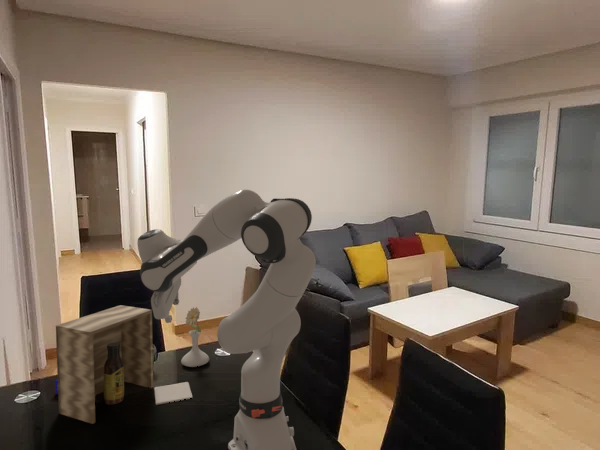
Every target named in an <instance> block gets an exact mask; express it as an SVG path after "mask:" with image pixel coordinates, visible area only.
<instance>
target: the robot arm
mask: <svg viewBox="0 0 600 450" xmlns="http://www.w3.org/2000/svg"><path fill="white" fill-rule="evenodd" d="M312 220H313V216H312V211H311V208H310V207H309V206H308V204H307V203H305V202H304V201H303V200H302V199H299V198H293V197H291V198H290V197H287V198H272V199H271V200H270V201H269V202H266V201H264V200H263V199H262V197H261V196H260V195H259V194H258V193H256V192H255V191H253V190H251V189H241V190H238V191H236V192H234V193H232V194H230V195H228V196H226V197H225V198H223V199H221V200H220V201H219V202H217V203H216V204H215V205H214V206H213V207H211V208H210V209H209V210H208V211H207V213H206V214H205V215H204V216H203V217H202V218H201V220H199V222H198V223H197V224H196V225H195V226H194V227H193V229H192V230H191V231H190V232H189V233H188V234H187V235H186V237H185V238H184V239H176V238H173V237H172V236H169V235H167V234H166V233H165V232H164V231H163V230H162V229H159V228H155V229H151V230H150V229H149V231H146V232H145V233H143V234H142V235H140V236H138V238H137V243H136V244H137V250H138V253H139V258H140V260H141V263H142V264H141V266H140V269H139V270H140V271H139V276H140V277H139V278H140V281H141V283H142V285H143V286H144V287H145V288H146V289H148V290H150V291H152V292H153V294H152V296H151V298H150V305H151V310H152V315H153V317H154V318H155V319H156V320H164V321H165V323H166V324H169V323H170V324H171V323H172V320H173V317H172V315H170V311H171V309H172V307H173V305H174V306H178V305H179V303H180V300H179V289H180V287H181V286H182V277H183V276H184V275H186V273H187V272H190V270H191V269H193V267H194V266H195V265H196V264H197V262H198V261H199V260H201V259H203V258H205V257H208V256H209V255H211V254H213V253H216V252H217V251H219V250H222V249H224V248H226V247H228V246H230V245H232V244H234V243H235V242H237V241H239V240H240V239H241V241H242V243H243V245H244V246H245V248H246V250H247V251H248V252H250V254H252V255H253V256H254V257H256V258H258V259H260V260H261V261H262V262H263V263H266V264H270V265H269V266H268V268H267V271H266V272H265V275H264V276H263V278H262V280H261V282H260V284H259V285H258V288H257V289H256V291H255V292H254V293H253V294H252V295H251V296H250V297H249V298H248V299H247V300H246V301H245V302H244V303H243V304H242V305H241V306H240V307H239V308H238V309H236V310H235V311H234V312H232V313H231V314H230V315H228V316H225V317H224V318H223V319H221V321H220V323H219V325H218V327H217V332H216V333H217V335H216V337H217V340H218V341H217V342H218V343H219V346H220V347H221V349H222V350H223V351H224V352H225V353H227V354H230V355H233V354H234V355H235V354H247V353H250V352H253V353H252V354H251V355H250V357H248V359H246V361H245V362H244V363H243V365H242V367H241V370H240V373H241V374H240V375H241V376H240V377H241V378H240V381H241V382H240V391H241V392H240V394H239V399H238V401H239V410H238V412H237V413H236V415H235V416H234V418H233V419H234V422H233V423H234V424H233V438H232V439H231V440H230V441H229V442H228V444H227V448H228V450H297V447H296V444H295V443H296V442H295V440H294V436H295V429H294V426H288V422H289V420H290V419H289V416H288V415H287V416H286V414H285V408H284V406H283V397H282V392H281V372H282V371H281V370H282V365H283V364H282V363H283V361H284V358H285V355H286V353H287V350H288V348H289V346H290V344H291V343H292V341H293V340H294V338H295V337H296V336H297V335H298V334H299V333H300V330H301V325H302V324H301V323H302V322H301V317H300V314H299V312H298V310H297V309H296V307H297V305H298V303H299V302H300V300H301V298H302V297H303V295H304V293H305V292H306V290H307V288H308V286H309V283H310V281H311V279H312V276H313V274H314V272H315V271H314V270H315V267H316V263H317V261H316V255H315V254H314V252H313V250H312V249H311V248H310V247H308V246H307V245H305V244H303V242H302V241H301V239H300V238H301V237H302V236H304V235H305V234H306V233H307V232H308V229H309V228H310V227H311V224H312Z"/></svg>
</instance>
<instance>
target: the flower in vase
mask: <svg viewBox="0 0 600 450" xmlns="http://www.w3.org/2000/svg"><path fill="white" fill-rule="evenodd" d="M200 314H201V311H200V309H199V308H198V307H192V308H190V310H188V311H187V314H186V317H185V325H187V327H192V328H193V330H192V329H191V330H189V331H188V334H189V335H190V338H191V341H192V347H191V349H190V351H188V352H187V353H186V354H185V355H183V357H182V358H181V361H180V362H181V364H182V365H183V366H184V367H189V368H197V366H198V367H200V366H201V367H202V366H204V365H206V364H207V363H209V361H210V357H209V355H208V354H207V353H206V352H204V351H203V350H201V349H200V348H199V337H200V334H201V333H202V329H201V325H199V322H198V320H199V319H200ZM196 324H197V325H196Z"/></svg>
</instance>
